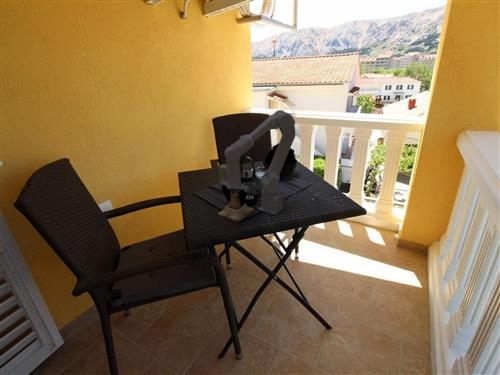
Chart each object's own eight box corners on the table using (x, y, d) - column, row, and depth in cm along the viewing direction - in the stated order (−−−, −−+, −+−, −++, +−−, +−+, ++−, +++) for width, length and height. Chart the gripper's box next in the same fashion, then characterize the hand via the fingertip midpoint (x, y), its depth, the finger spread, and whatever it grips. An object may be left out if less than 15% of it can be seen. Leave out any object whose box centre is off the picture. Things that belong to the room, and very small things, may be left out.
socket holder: (254, 210, 122) (254, 203, 120) (238, 221, 113) (238, 215, 111) (234, 204, 128) (233, 198, 127) (217, 214, 119) (217, 208, 118)
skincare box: (219, 186, 150) (217, 165, 145) (225, 183, 153) (223, 163, 148) (226, 189, 146) (224, 168, 141) (232, 186, 148) (230, 166, 143)
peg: (242, 210, 120) (241, 194, 117) (236, 214, 117) (235, 198, 114) (235, 208, 123) (234, 192, 119) (229, 211, 120) (228, 195, 117)
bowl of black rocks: (290, 184, 147) (291, 152, 139) (258, 180, 155) (256, 149, 148) (300, 172, 163) (301, 143, 156) (270, 169, 172) (270, 140, 164)
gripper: (214, 174, 114) (217, 202, 119) (241, 181, 106) (243, 210, 112) (225, 169, 119) (227, 196, 125) (251, 175, 111) (252, 204, 117)
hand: (235, 203), depth 118 cm, fingers open, 7 cm apart
